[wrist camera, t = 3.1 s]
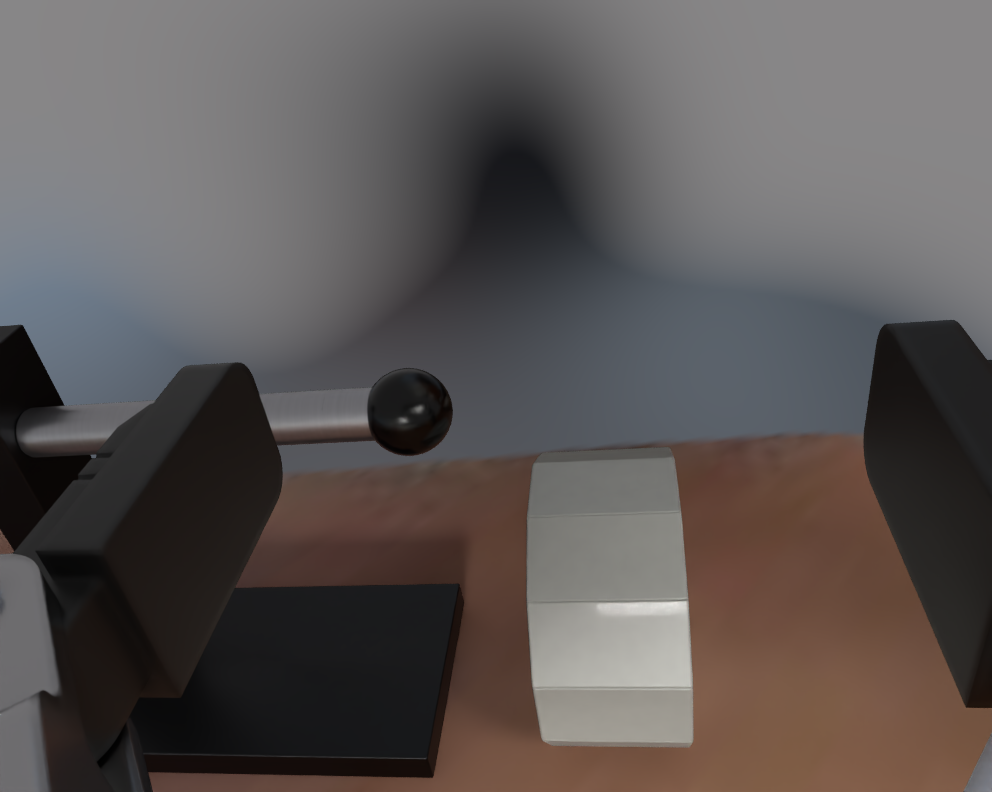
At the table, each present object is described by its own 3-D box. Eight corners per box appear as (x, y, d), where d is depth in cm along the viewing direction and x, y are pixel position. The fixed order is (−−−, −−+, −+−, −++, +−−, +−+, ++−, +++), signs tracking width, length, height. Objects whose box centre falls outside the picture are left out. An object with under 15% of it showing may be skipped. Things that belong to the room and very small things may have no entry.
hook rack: (517, 601, 35) (455, 255, 26) (498, 779, 28) (407, 395, 19) (174, 607, 37) (13, 292, 28) (83, 771, 31) (-163, 428, 22)
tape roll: (672, 584, 34) (667, 395, 29) (694, 807, 26) (692, 603, 21) (562, 586, 35) (538, 402, 30) (552, 804, 27) (516, 606, 22)
